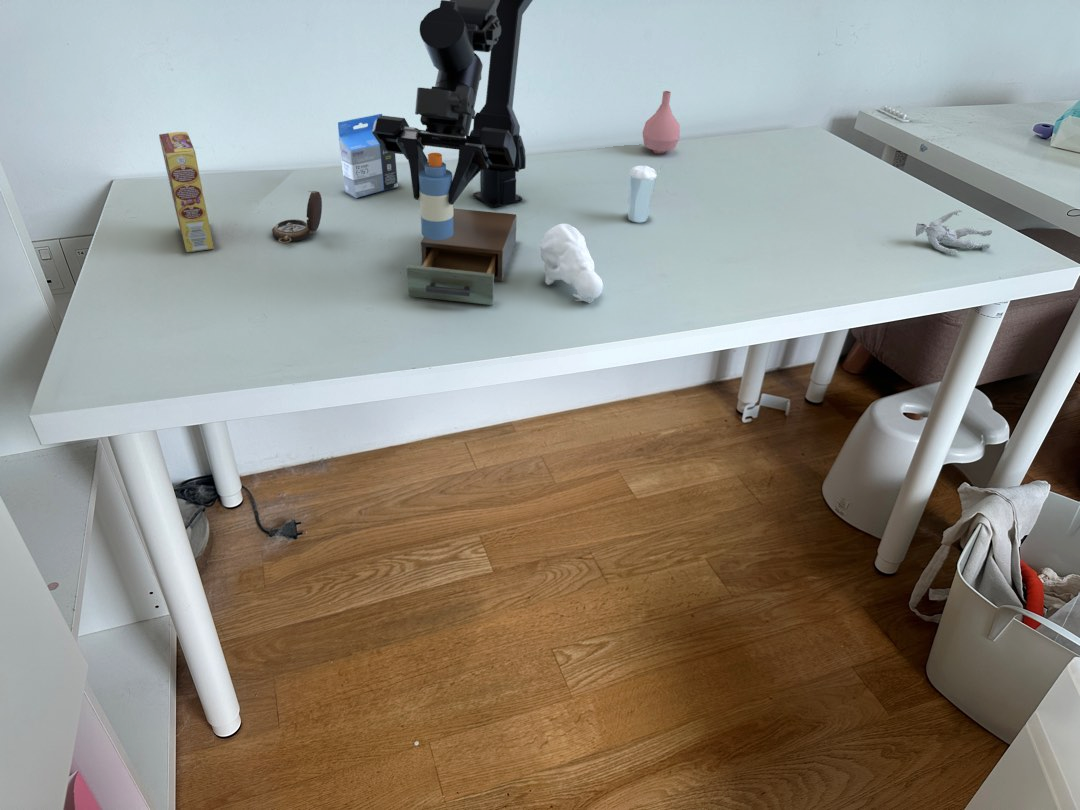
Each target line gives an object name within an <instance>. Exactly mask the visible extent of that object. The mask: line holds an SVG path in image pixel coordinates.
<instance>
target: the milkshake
mask: <svg viewBox="0 0 1080 810" xmlns="http://www.w3.org/2000/svg"><path fill="white" fill-rule="evenodd" d="M663 167H664V164H662V165H661V166H660V168H659V170H658V171H656V170H655V169H654V168H652V167H650V166H648V165H636V166H633V167H632V168H631V169H630V171H629V181H628V183H629V187H628V188H629V189H628V209H627V211H628V214H627V219H628V220H629V221H631V222H633V223H637V224H641V223H645V222H647V220H648V217H649V213H650V209H651V203H652V199H653V193H654V190H655V186H656V181H657V177H658V174H659V173H660V171H661V170H662V168H663Z"/></svg>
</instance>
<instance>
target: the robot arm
mask: <svg viewBox="0 0 1080 810" xmlns="http://www.w3.org/2000/svg"><path fill="white" fill-rule="evenodd" d="M533 1H534V0H440V2H439V3H440V4H439V7H436V8H434V9H432V10H431V11H429V12H427V14H426V15H425V16H424V17H423V19H422V20H421V21H420V24H419V35H420V37H421V40H422V42H423V45H424V47H425V49H426V51H427V53H428V56H429V58H430V61H431V63H432V65H433V67H435V68H436V69H437V74H436V75H437V76H436V80H435V85H434V86H431V88H429V87H417V88H416V96H415V97H416V99H415V109H414V114H415V115H417V116H418V115H420V120H419V121H420V123H421V125H422V126H425V130H424V129H419V128H417V127H413V126H410V125H409V123H408V122H407V119H406V118H405V117H400V116H390V115H383V114H382V115H381V116H379V117H378V118H377V119H376V120H375V121H374V126H373V130H372V133H373V135H374V136H375V138H376V139H377V141H378V142H379V144H380V145H381V147H382V148H383V150H384V151H386V152H389V153H395V155H396V154H398V155H403V157H404V158H405V159H406V160H407V161H408V166H409V170H410V179H411V180H410V181H411V188H412V196H413V199H414V200H415V201H420V196H419V189H420V188H419V172H420V171H422V170H424V169H425V163H427V162H428V156H427V155H426V154H425V152H424V150H425V148H426V147H433V148H441V149H450V150H456V151H457V150H458V159H457V164H456V168H455V171H454V174H453V177H452V185H451V188H450V193H449V200H448V202H449V204H451V205H453V206H454V204H455V203H456V201H457V200H458V198H459V197H460V196H461V194H462V193H463V192H464V190H465V189H466V187H468V185H469V184H470V182H472V180H473V179H474V178H475V177H476V176H477V175H478V174H479V173H480V174H479V175H480V177H479V178H480V179H479V180H480V181H479V183H480V185H479V186H480V187H479V189H480V191H476V192H473V193H472V196H473V197H474V198H476V200H478V201H481V202H482V203H484V204H485V205H486V206H488V207H490V208H493V209H495V208H499V207H503V206H507V205H511V204H515V203H518V202H522V201H523V197H522V196H520V195H518V194H517V178H516V177H517V174H516V173H519V172H520V170H525V169H526V163H527V162H526V161H527V159H526V158H527V156H526V148H525V144H524V141H523V138H522V136H521V135H520V130H521V126H520V122H519V121H518V119H517V116H516V114H515V111H514V109H513V106H514V97H515V88H516V79H517V71H518V60H519V59H518V58H519V51H520V50H519V49H520V42H521V32H522V31H521V30H522V22H523V15H524V13H525V12H526V10H528V8H529V6H530V5H531V3H532V2H533ZM476 52H480V53H489V55H490V56H489V63H488V64H489V66H488V67H489V68H488V73H487V74H488V75H487V85H486V95H485V96H486V97H485V104H484V105H483V107H482V108H481V109H480V111H478V112H476V110H475V105H476V101H477V96H478V91H479V86H480V82H481V80H482V71H483V67H484V65H483V62H482V59H481V58H480V56H479V55H478V54H477V53H476ZM472 121H473V126H472V129H471V125H472Z"/></svg>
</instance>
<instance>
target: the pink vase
mask: <svg viewBox="0 0 1080 810" xmlns="http://www.w3.org/2000/svg"><path fill="white" fill-rule="evenodd" d="M671 94H672V91H670V90H663V91H662V98H661V104H660V105H659V107H658V108H657V110H656V111H655V113H654V114H652V116H651V117H650V118H649V119H647V120H646V121H645V123H644V127H643V129H642V140H643V146H644V147H645V148H647V149H650V150H652V151H653V153H654V154H658V155H659V154H660V155H662V154H665V152H669V151H673V150H675V149H676V147H677V145H678V144H679V143H678V142H679V140H680V138H681V129H680V127H681V126H680V124H679V122H678V121H677V119H676V118H675V116H674V115H673V113H672V112H673V111H672V109H671V105H670V101H671Z"/></svg>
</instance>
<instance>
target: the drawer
mask: <svg viewBox="0 0 1080 810" xmlns="http://www.w3.org/2000/svg"><path fill="white" fill-rule="evenodd" d="M497 267H498V254H490V253H481V252H471V251H461V250H451V249H442V248H432V249H431V251H430V253H429V254H428V256H427V258H426V260H425V262H424V263H423V265H422V264H421V265H413V264H408V265H407V267H406V276H407V290H408V291H407V292H408V297H414V298H424V299H433V300H434V299H435V300H441V301H442V300H444V301H452V302H461V303H471V304H480V305H489V306H493V304H494V301H495V281H494V275H495V272H496V270H497Z"/></svg>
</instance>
